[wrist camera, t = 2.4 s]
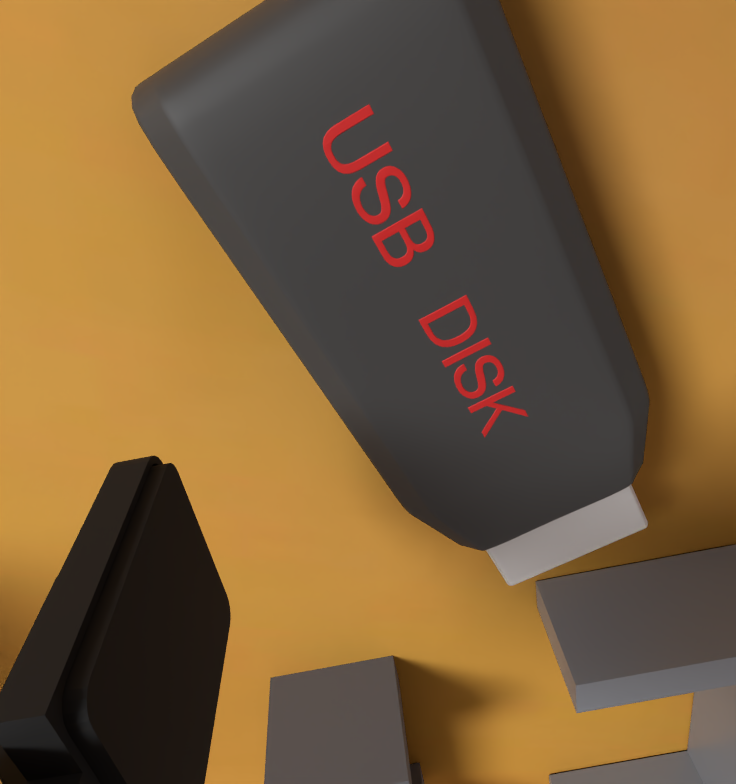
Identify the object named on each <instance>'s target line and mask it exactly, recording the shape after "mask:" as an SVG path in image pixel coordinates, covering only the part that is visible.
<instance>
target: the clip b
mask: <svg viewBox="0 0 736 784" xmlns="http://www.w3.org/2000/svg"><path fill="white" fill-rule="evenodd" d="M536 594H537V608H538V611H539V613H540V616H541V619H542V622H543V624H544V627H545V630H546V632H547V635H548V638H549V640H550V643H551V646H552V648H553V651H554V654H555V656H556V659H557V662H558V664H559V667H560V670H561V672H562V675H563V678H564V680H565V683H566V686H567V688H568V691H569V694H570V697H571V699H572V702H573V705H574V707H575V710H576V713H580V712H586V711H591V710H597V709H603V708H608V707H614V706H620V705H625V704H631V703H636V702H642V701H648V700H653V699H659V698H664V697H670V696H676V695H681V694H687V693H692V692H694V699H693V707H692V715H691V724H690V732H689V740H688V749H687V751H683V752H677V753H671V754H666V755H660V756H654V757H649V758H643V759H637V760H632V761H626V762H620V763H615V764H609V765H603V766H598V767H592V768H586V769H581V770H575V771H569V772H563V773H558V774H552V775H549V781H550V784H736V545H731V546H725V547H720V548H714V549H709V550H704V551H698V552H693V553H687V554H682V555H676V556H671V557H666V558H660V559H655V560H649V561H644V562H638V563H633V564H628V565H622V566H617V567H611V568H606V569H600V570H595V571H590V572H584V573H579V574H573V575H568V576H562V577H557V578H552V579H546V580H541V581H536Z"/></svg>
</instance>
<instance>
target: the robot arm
mask: <svg viewBox="0 0 736 784" xmlns="http://www.w3.org/2000/svg"><path fill="white" fill-rule="evenodd" d="M229 627H230V605H229V600H228V597H227V594H226V592H225V589H224V587H223V584H222V582H221V579H220V577H219V574H218V572H217V569H216V567H215V564H214V562H213V559H212V557H211V554H210V552H209V549H208V547H207V544H206V541H205V539H204V536H203V534H202V531H201V529H200V526H199V524H198V521H197V519H196V516H195V514H194V511H193V509H192V506H191V504H190V501H189V499H188V496H187V494H186V491H185V489H184V486H183V484H182V481H181V479H180V476H179V473H178V471H177V469H176V467H175V466H174V465H173V464H171V463H168V464H163V463H162V461H161V460H160V459H159V458H158V457H156V456H150V457H144V458H139V459H133V460H128V461H122V462H117V463H115V464H113V466H112V467H111V468H110V470H109V472H108V474H107V477H106V479H105V481H104V483H103V485H102V487H101V489H100V491H99V493H98V495H97V497H96V499H95V501H94V503H93V505H92V507H91V509H90V512H89V514H88V516H87V518H86V520H85V522H84V524H83V526H82V528H81V530H80V532H79V534H78V536H77V538H76V540H75V542H74V544H73V546H72V549H71V551H70V553H69V555H68V557H67V559H66V561H65V563H64V565H63V567H62V569H61V571H60V573H59V575H58V576H57V578H56V579H55V581H54V584H53V586H52V588H51V590H50V592H49V594H48V596H47V598H46V600H45V602H44V604H43V606H42V608H41V610H40V612H39V614H38V616H37V618H36V620H35V622H34V625H33V627H32V629H31V631H30V633H29V635H28V637H27V639H26V641H25V643H24V645H23V647H22V649H21V651H20V653H19V655H18V657H17V659H16V661H15V663H14V665H13V668H12V670H11V672H10V674H9V676H8V678H7V680H6V682H5V684H4V686H3V688H2V690H1V692H0V784H204V783H205V776H206V770H207V764H208V758H209V752H210V745H211V739H212V733H213V727H214V720H215V714H216V708H217V702H218V696H219V689H220V683H221V677H222V671H223V664H224V658H225V652H226V646H227V640H228V633H229Z"/></svg>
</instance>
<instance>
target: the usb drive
mask: <svg viewBox="0 0 736 784" xmlns="http://www.w3.org/2000/svg"><path fill="white" fill-rule="evenodd" d="M132 109H133V111H134V113H135V116H136V118H137V120H138V123H139V125H140V126H141V128H142V130H143V131H144V133H145V135H146V136H147V138H148V140H149V141H150V143H151V145H152V146H153V148H154V149H155V151H156V152H157V154H158V155H159V157H160V158H161V160H162V161H163V163H164V164H165V166H166V167H167V169H168V170H169V172H170V173H171V174H172V176H173V177H174V179H175V180H176V182H177V183H178V185H179V186H180V188H181V189H182V191H183V192H184V193H185V195H186V196H187V198H188V199H189V201H190V202H191V204H192V205H193V206H194V208H195V209H196V211H197V212H198V214H199V215H200V216H201V218H202V219H203V221H204V222H205V224H206V225H207V227H208V228H209V229H210V231H211V232H212V234H213V235H214V237H215V238H216V239H217V241H218V242H219V244H220V245H221V247H222V248H223V249H224V251H225V252H226V254H227V255H228V257H229V258H230V260H231V261H232V262H233V264H234V265H235V267H236V268H237V270H238V271H239V272H240V274H241V275H242V277H243V278H244V280H245V281H246V283H247V284H248V285H249V287H250V288H251V290H252V291H253V293H254V294H255V295H256V297H257V298H258V300H259V301H260V303H261V304H262V305H263V307H264V308H265V310H266V311H267V313H268V314H269V316H270V317H271V318H272V320H273V321H274V323H275V324H276V326H277V327H278V328H279V330H280V331H281V333H282V334H283V336H284V337H285V338H286V340H287V341H288V343H289V344H290V346H291V347H292V349H293V350H294V351H295V353H296V354H297V356H298V357H299V359H300V360H301V361H302V363H303V364H304V366H305V367H306V369H307V370H308V372H309V373H310V374H311V376H312V377H313V379H314V380H315V382H316V383H317V384H318V386H319V387H320V389H321V390H322V392H323V393H324V394H325V396H326V397H327V399H328V400H329V402H330V403H331V405H332V406H333V407H334V409H335V410H336V412H337V413H338V415H339V416H340V417H341V419H342V420H343V422H344V423H345V425H346V426H347V428H348V429H349V430H350V432H351V433H352V435H353V436H354V438H355V439H356V440H357V442H358V443H359V445H360V446H361V448H362V449H363V450H364V452H365V453H366V455H367V456H368V458H369V459H370V461H371V462H372V463H373V465H374V466H375V468H376V469H377V471H378V472H379V473H380V475H381V476H382V478H383V479H384V481H385V482H386V484H387V485H388V486H389V488H390V489H391V491H392V492H393V494H394V495H395V496H396V498H397V499H398V500H399V502H400V503H401V504H402V506H403V507H404V508H405V509H406V510H407V511H408V512H409V513H410V514H411V515H413V516H414V517H416V518H418V519H419V520H421V521H422V522H424V523H426V524H427V525H429V526H431V527H432V528H434V529H435V530H437V531H439V532H440V533H442V534H443V535H445V536H447V537H448V538H450V539H451V540H453V541H455V542H456V543H458V544H459V545H462V546H466V547H470V548H474V549H477V550H481V551H483V550H486V551H487V553H488V554H489V556H490V557H491V559H492V561H493V562H494V564H495V565H496V567H497V568H498V570H499V572H500V573H501V575H502V576H503V578H504V579H505V581H506V583H507V584H508V585H510V586H512V585H515V584H518V583H520V582H522V581H525V580H527V579H529V578H532V577H534V576H536V575H538V574H541V573H543V572H545V571H548V570H550V569H552V568H555V567H557V566H559V565H562V564H564V563H566V562H569V561H571V560H573V559H576V558H578V557H580V556H582V555H585V554H587V553H589V552H592V551H594V550H596V549H599V548H601V547H603V546H606V545H608V544H610V543H613V542H615V541H617V540H620V539H622V538H624V537H626V536H629V535H631V534H633V533H636V532H638V531H640V530H643V529H645V528H646V527H647V526H648V521H647V519H646V517H645V515H644V512H643V510H642V508H641V505H640V503H639V501H638V499H637V496H636V494H635V492H634V489H633V487H632V485H631V484H632V483H633V481H634V479H635V477H636V475H637V473H638V471H639V469H640V467H641V465H642V464H643V458H644V449H645V439H646V431H647V421H648V412H649V395H648V390H647V388H646V385H645V382H644V379H643V376H642V373H641V371H640V368H639V366H638V363H637V360H636V358H635V355H634V352H633V350H632V347H631V345H630V342H629V339H628V337H627V334H626V331H625V329H624V326H623V324H622V321H621V318H620V316H619V313H618V310H617V308H616V305H615V303H614V300H613V297H612V295H611V292H610V289H609V287H608V284H607V282H606V279H605V276H604V274H603V271H602V268H601V266H600V263H599V261H598V258H597V255H596V253H595V250H594V247H593V245H592V242H591V240H590V237H589V234H588V232H587V229H586V226H585V224H584V221H583V219H582V216H581V213H580V211H579V208H578V205H577V203H576V200H575V198H574V195H573V192H572V190H571V187H570V184H569V182H568V179H567V177H566V174H565V171H564V169H563V166H562V164H561V161H560V158H559V156H558V153H557V150H556V148H555V145H554V143H553V140H552V137H551V135H550V132H549V129H548V127H547V124H546V122H545V119H544V116H543V114H542V111H541V108H540V106H539V103H538V101H537V98H536V95H535V93H534V90H533V87H532V85H531V82H530V80H529V77H528V74H527V72H526V69H525V66H524V64H523V61H522V59H521V56H520V53H519V51H518V48H517V45H516V43H515V40H514V38H513V35H512V32H511V30H510V27H509V24H508V22H507V19H506V17H505V14H504V11H503V9H502V6H501V3H500V1H499V0H265V1H263V2H262V3H260V4H259V5H257V6H256V7H254V8H253V9H251V10H250V11H248V12H247V13H245V14H244V15H242V16H241V17H239V18H238V19H236V20H235V21H233V22H232V23H230V24H229V25H227V26H226V27H224V28H223V29H221V30H220V31H218V32H216V33H215V34H213V35H212V36H210V37H209V38H207V39H206V40H204V41H203V42H201V43H200V44H198V45H197V46H195V47H194V48H192V49H191V50H189V51H188V52H186V53H185V54H183V55H182V56H180V57H179V58H177V59H176V60H174V61H173V62H171V63H170V64H168V65H167V66H165V67H164V68H162V69H161V70H159V71H158V72H156V73H155V74H153V75H152V76H150V77H149V78H147V79H146V80H144V81H143V82H141V83H140V84H139V85H138V86H137V87H135V90H134V92H133V94H132Z"/></svg>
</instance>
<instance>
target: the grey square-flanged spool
mask: <svg viewBox="0 0 736 784" xmlns="http://www.w3.org/2000/svg"><path fill="white" fill-rule="evenodd" d="M264 784H424V780H423V775H422V771H421V767H420V763H413V764H410V763H409V755H408V748H407V740H406V732H405V724H404V717H403V709H402V701H401V693H400V686H399V678H398V674H397V670H396V666H395V662H394V658H393V656H388V657H382V658H377V659H371V660H366V661H360V662H355V663H350V664H344V665H339V666H333V667H328V668H322V669H317V670H311V671H306V672H300V673H295V674H289V675H284V676H278V677H273V678H271V680H270V696H269V713H268V730H267V746H266V763H265V780H264Z"/></svg>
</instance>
